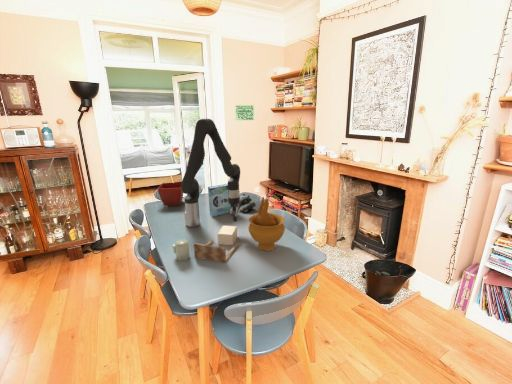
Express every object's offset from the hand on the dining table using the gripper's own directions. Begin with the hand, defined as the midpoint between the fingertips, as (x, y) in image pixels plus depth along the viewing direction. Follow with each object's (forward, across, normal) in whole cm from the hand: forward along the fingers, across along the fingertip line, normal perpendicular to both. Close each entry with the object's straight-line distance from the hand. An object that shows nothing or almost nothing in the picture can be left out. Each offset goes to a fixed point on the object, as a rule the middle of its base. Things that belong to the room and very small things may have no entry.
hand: (235, 221), depth 168 cm
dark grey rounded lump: (+8, -41, -8) cm, 42 cm away
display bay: (+8, +26, 0) cm, 28 cm away
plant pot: (+7, -36, -74) cm, 83 cm away
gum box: (+8, -28, -23) cm, 38 cm away
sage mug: (+8, +38, -16) cm, 41 cm away
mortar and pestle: (+9, +12, +24) cm, 28 cm away
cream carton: (+8, +12, 0) cm, 14 cm away
